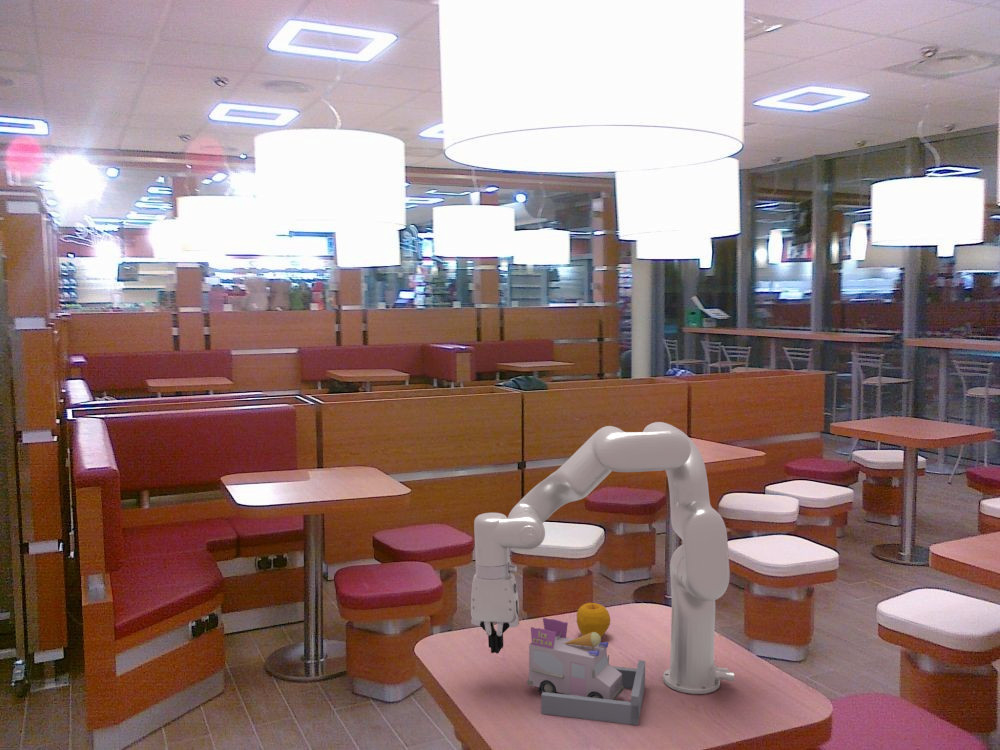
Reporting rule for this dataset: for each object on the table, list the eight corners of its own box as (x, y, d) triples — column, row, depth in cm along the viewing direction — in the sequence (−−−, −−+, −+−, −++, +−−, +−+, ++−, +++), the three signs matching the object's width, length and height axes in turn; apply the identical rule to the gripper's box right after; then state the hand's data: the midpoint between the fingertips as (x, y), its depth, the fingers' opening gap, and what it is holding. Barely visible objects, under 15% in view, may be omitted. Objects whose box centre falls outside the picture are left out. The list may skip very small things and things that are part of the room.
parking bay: (644, 686, 194) (645, 660, 194) (637, 725, 177) (638, 696, 176) (556, 677, 199) (556, 651, 198) (541, 713, 182) (541, 685, 181)
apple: (616, 638, 222) (617, 604, 221) (594, 647, 216) (595, 612, 215) (591, 629, 228) (591, 596, 227) (569, 637, 222) (569, 603, 221)
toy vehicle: (609, 715, 181) (610, 645, 180) (525, 694, 190) (525, 627, 189) (624, 697, 189) (626, 630, 188) (543, 678, 199) (544, 614, 197)
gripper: (529, 566, 193) (532, 646, 194) (465, 563, 196) (468, 642, 198) (522, 577, 186) (525, 660, 187) (455, 574, 189) (459, 655, 191)
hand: (496, 650), depth 193 cm, fingers closed
